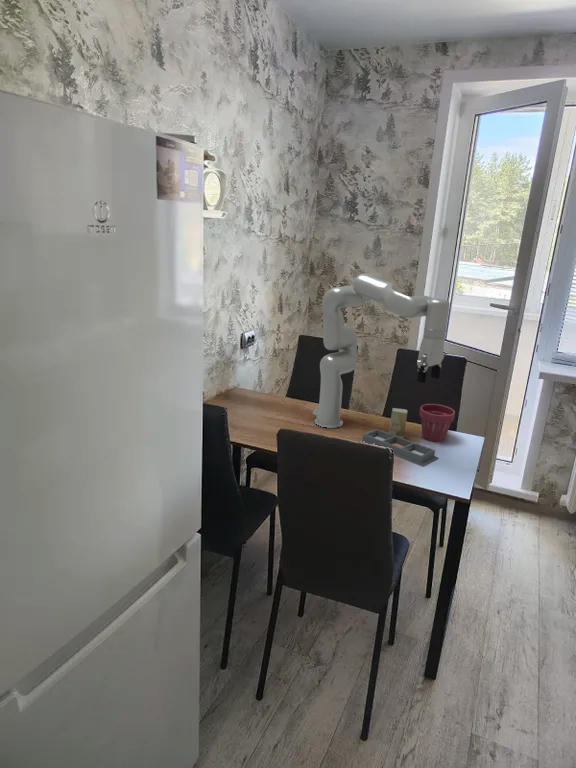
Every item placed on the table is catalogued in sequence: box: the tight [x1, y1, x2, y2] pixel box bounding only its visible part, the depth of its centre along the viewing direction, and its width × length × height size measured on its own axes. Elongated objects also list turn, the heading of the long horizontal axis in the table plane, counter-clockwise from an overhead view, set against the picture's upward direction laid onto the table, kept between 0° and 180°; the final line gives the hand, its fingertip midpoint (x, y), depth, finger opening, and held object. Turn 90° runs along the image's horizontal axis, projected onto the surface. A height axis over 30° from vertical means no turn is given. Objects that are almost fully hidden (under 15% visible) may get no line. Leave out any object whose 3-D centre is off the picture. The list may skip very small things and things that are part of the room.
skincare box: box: [388, 407, 408, 439], centre depth 216 cm, size 6×4×12 cm
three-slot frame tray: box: [358, 428, 439, 467], centre depth 205 cm, size 30×11×3 cm, turn 45°
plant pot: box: [419, 403, 456, 443], centre depth 218 cm, size 14×14×13 cm
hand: (428, 380), depth 190 cm, fingers open, 9 cm apart
